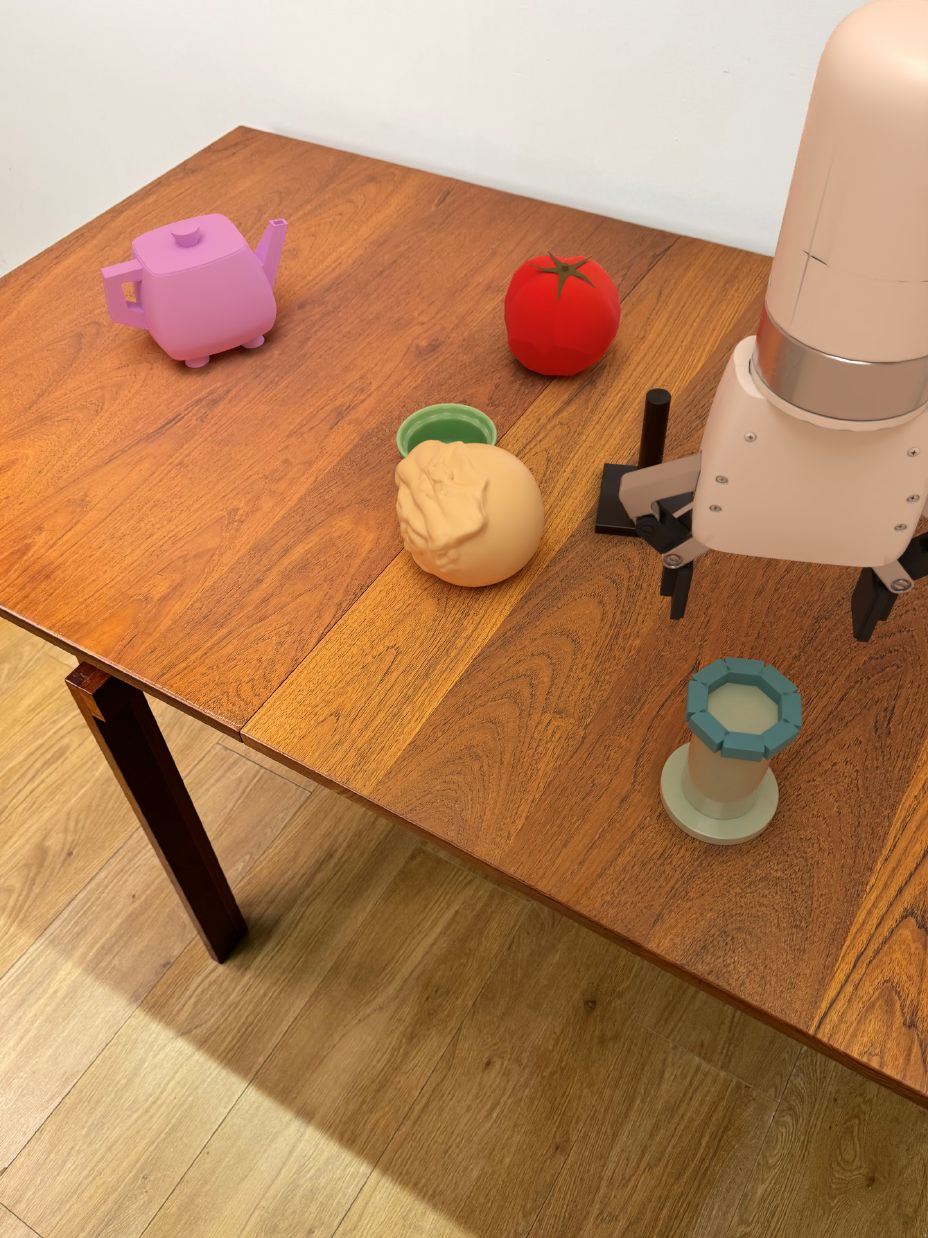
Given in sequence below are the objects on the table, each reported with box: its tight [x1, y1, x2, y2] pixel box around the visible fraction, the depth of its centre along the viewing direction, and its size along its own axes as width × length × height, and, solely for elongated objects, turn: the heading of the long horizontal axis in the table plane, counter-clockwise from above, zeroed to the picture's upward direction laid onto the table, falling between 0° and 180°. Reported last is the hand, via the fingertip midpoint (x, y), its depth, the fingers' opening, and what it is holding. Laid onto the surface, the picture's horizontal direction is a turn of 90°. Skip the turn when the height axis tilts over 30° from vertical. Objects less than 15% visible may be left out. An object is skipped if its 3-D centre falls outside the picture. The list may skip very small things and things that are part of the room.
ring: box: [684, 656, 803, 762], centre depth 61 cm, size 7×7×1 cm
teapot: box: [100, 213, 289, 369], centre depth 102 cm, size 20×12×13 cm, turn 119°
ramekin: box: [395, 402, 498, 460], centre depth 90 cm, size 9×9×4 cm
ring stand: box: [659, 683, 780, 846], centre depth 66 cm, size 8×8×10 cm
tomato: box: [503, 250, 622, 376], centre depth 97 cm, size 12×12×11 cm
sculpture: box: [394, 440, 545, 588], centre depth 81 cm, size 12×12×11 cm
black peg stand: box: [594, 387, 694, 538], centre depth 83 cm, size 8×8×12 cm
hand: (766, 610), depth 54 cm, fingers open, 9 cm apart
